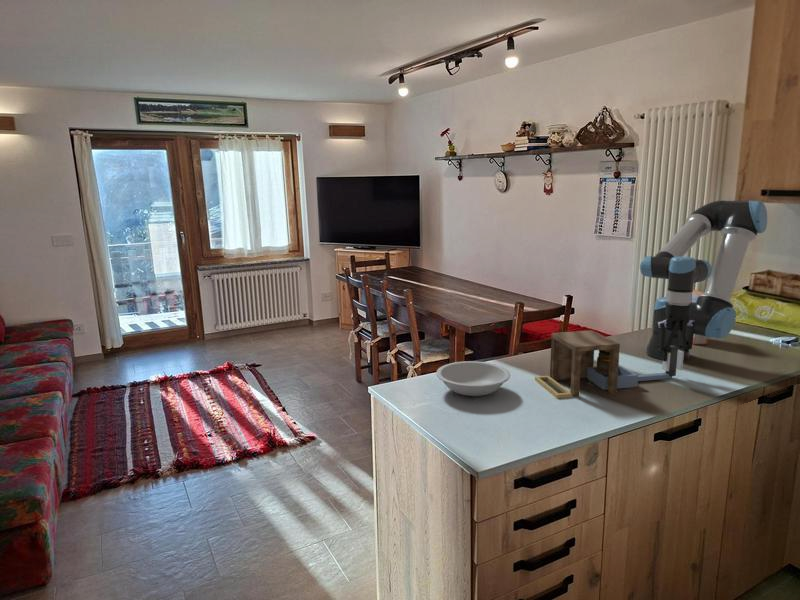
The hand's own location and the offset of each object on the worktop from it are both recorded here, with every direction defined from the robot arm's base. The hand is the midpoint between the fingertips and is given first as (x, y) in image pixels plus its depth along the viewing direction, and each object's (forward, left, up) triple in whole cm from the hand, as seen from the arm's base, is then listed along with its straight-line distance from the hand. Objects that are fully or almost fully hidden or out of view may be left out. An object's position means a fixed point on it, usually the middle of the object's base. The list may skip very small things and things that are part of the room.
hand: (672, 369), depth 185 cm
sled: (+14, 0, -3) cm, 14 cm away
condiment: (+25, 0, -3) cm, 26 cm away
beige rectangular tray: (+44, 0, -3) cm, 44 cm away
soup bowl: (+70, -3, -3) cm, 70 cm away
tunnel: (+33, 0, -3) cm, 33 cm away
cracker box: (-38, -39, -3) cm, 54 cm away
